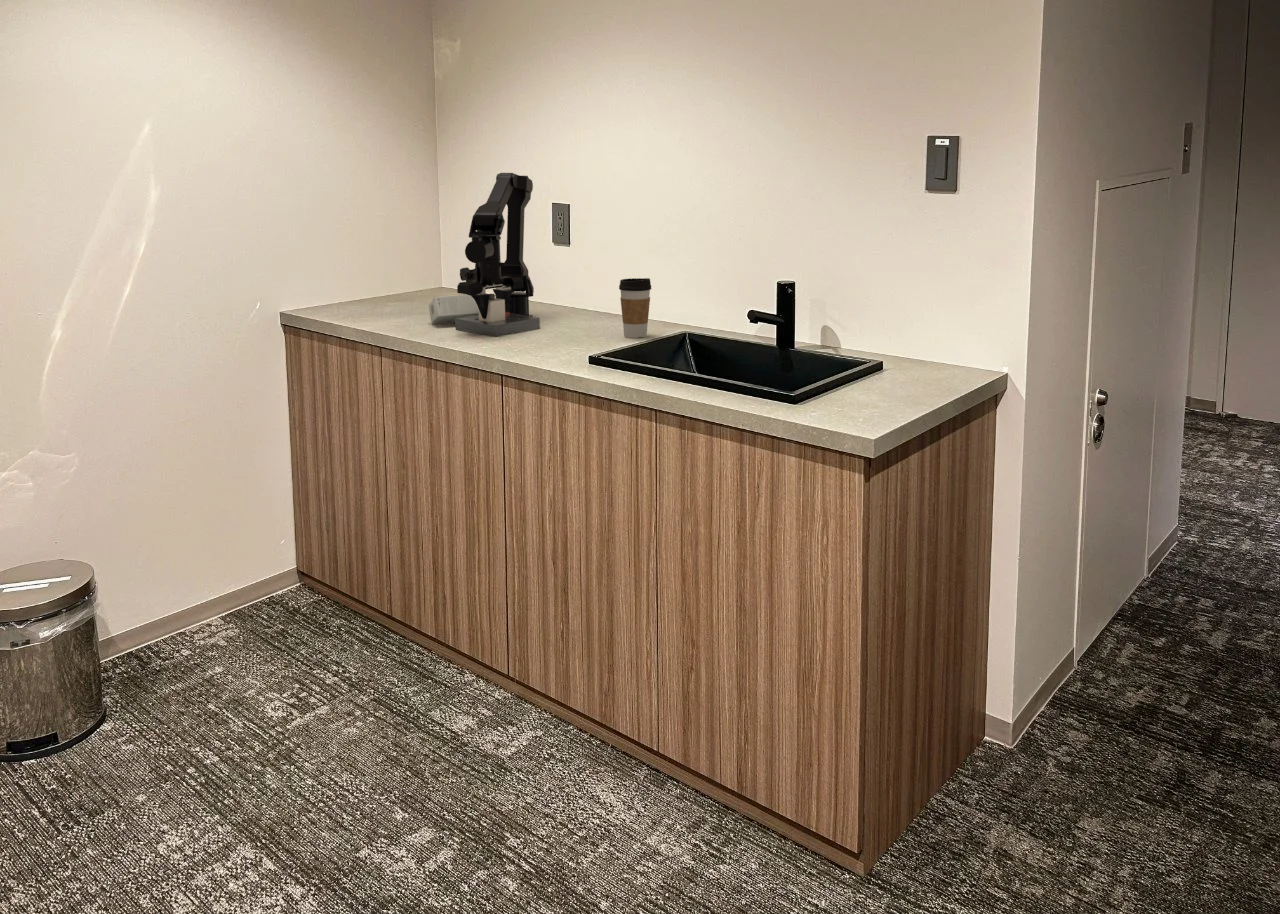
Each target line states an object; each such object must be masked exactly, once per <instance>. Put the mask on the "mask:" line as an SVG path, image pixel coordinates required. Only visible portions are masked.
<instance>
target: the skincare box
mask: <svg viewBox="0 0 1280 914" xmlns="http://www.w3.org/2000/svg"><path fill="white" fill-rule="evenodd" d="M428 311H429V316H430V317H429V318H430V322H431V325H435V324H437V325H438V324H445V323H447V324H449V323H455V319H456V318H462V317H468V316H475V315H479V313H478V306H477V304H476V302H475V300H474V298H473V297H472V296H470V295H467V294H455V295H454V294H453V295H441V296H440V295H439V296H434V298H433V299H431V301H430V302H429V303H428Z"/></svg>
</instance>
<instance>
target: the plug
mask: <svg viewBox="0 0 1280 914" xmlns="http://www.w3.org/2000/svg"><path fill="white" fill-rule="evenodd" d="M488 294H489V301H488V310H487V317H486V319H483V318H482V316H481V313H480V311H479V308H478V313H479V320H480V321H486V322H495V321H501V320H505V300H504V299H497V298H496V295H495V293H488Z"/></svg>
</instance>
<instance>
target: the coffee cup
mask: <svg viewBox="0 0 1280 914" xmlns="http://www.w3.org/2000/svg"><path fill="white" fill-rule="evenodd" d="M618 289H619V290H620V298H619V299H620V308H621V317H622V328H623V336H624V337H625V338H627V337H628V339H639V338H638V337H644V338H646V337H647V335H648V322H649V313H650V305H651V303H650V302H651V297H650V293H651V290H652V284H651V278H649V277H647V278H642V277H641V278H640V277H639V278H623V279H620V282H619V286H618ZM645 336H646V337H645Z"/></svg>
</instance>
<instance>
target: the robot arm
mask: <svg viewBox="0 0 1280 914" xmlns="http://www.w3.org/2000/svg"><path fill="white" fill-rule="evenodd" d="M533 188H534V184H533V180H532V179H531V178H529V176H528V175H518V174H517V173H514V172H500V173H497V174H496V178H495V183H494V184H493V188H492V189H491V192H490V193H489V196H488V198H487V201H486V202H485V203H484V204H482V205H480V206H478V208H477V209H476V210H475V212H474V214H473V216H472V219H471V223H470V229H469V233H468V238H471V241H470V242H468V243H467V244H466V246H465V249H464V255H465V257H466V258H467V260H468V261H469V262H471V263H473V264H474V268H473V269H470V268H469V267H467V266H466V267H461V268H460V269H459V277H460V280H461V281H462V282H461V281H460V282H458V284H457V286H456V288H457V289H456V290H457V294H460V295H470V296H472V297H473V298H474V300H475V302H476V304H477V306H478V308H479V311H480V313H481V316H482V318H483V319H486V317H487V310H488V301H489V294H490V293H486V290H491V289H492V292H493V294H494V295H495V298H497V299H504V300H505V312H509V313H513V314H520V315H526V316H532V317H534V315H533V314H530V305H529V304H530V303H529V302H530V300H529V299H530V297H531V298H532V297H534V285H533V283H532V280H531V277H530V275H529V269H528V267H527V265H526V264H525V262H524V236H525V235H524V233H525V209H526V207H527V206H528V204H529V202H530V201H531V198H532V197H531V196H532V192H533ZM506 206H507V219H506V221H507V222H506V221H505V218H504V215H503V213H504V211H505V208H506ZM505 224H506V227H507V228H506V253H505V254H506V257H505V260H504V262H503V261H501V239H502V234H503V233H502V232H503V231H504V230H503V229H504V226H505Z"/></svg>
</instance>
